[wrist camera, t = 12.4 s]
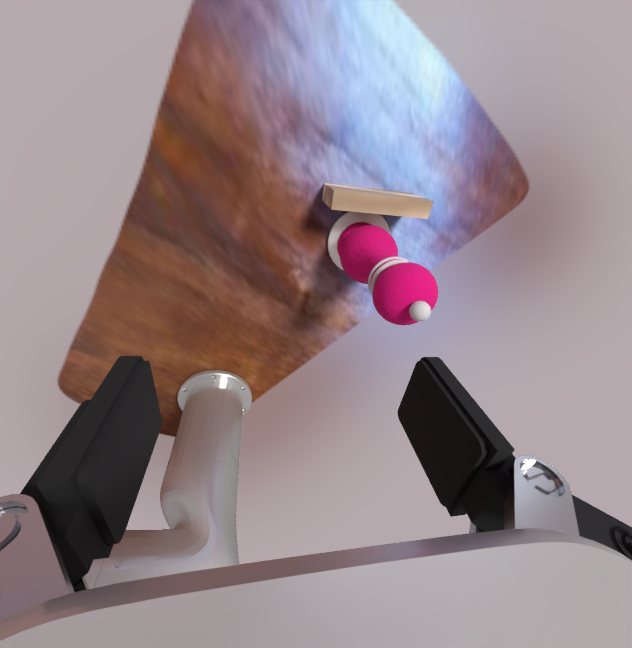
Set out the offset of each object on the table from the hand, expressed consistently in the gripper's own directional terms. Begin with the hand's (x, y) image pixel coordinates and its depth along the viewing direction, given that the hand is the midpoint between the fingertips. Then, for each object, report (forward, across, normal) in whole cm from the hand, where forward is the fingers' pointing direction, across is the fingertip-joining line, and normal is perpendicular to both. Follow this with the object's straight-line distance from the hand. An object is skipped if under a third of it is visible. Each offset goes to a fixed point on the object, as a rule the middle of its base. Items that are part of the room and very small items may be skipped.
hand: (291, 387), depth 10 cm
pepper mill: (+32, -12, +3) cm, 34 cm away
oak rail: (+32, -13, -3) cm, 35 cm away
